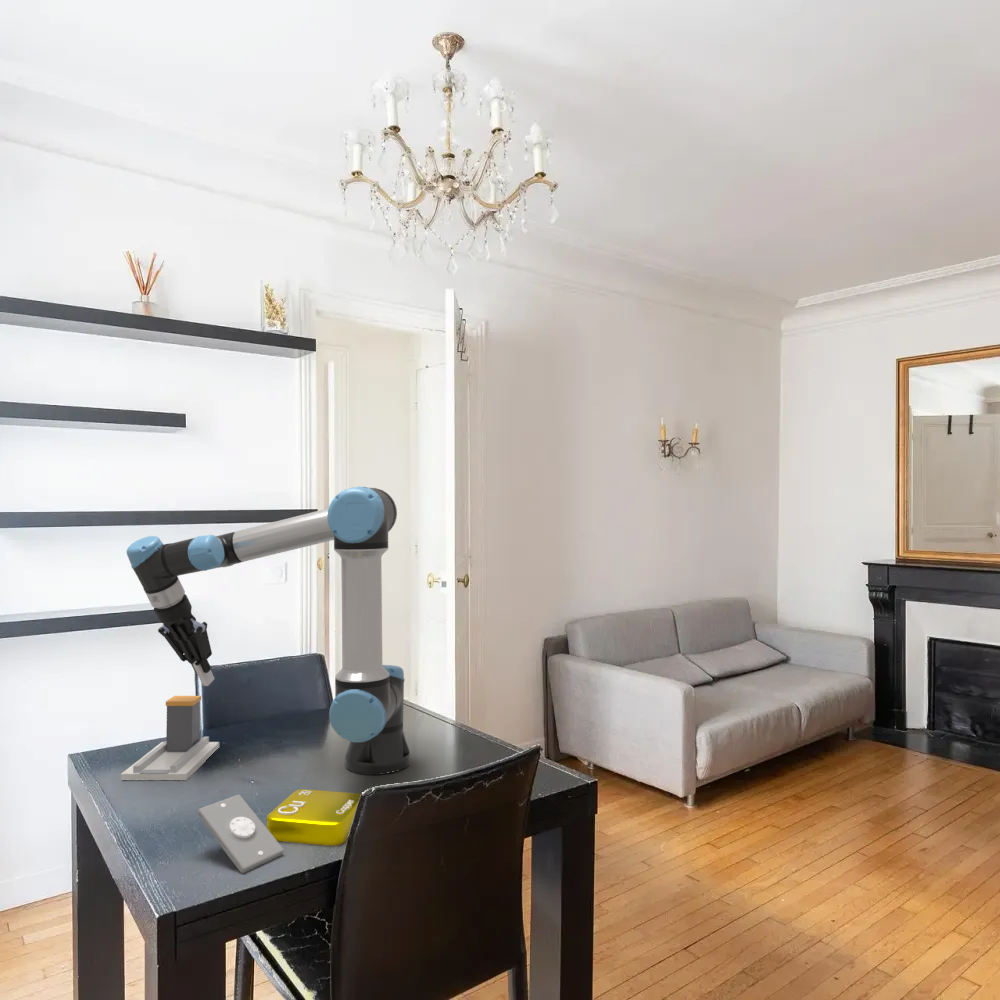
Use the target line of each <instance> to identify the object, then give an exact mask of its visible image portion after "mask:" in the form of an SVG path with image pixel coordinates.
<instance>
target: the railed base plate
mask: <svg viewBox="0 0 1000 1000" xmlns="http://www.w3.org/2000/svg"><path fill="white" fill-rule="evenodd" d="M218 748H219V749H220V741H210V736H203V737H202V738H200V739H199V741H198V742H197V743H196V744H195V745H194V746H193V747H192V748H190V749H189V750H188V751H166V740H165V741H161V742H160V743H159V744H158V745H156V746H155V747H154V748H152V749H150V751H148V752H147V753H146V754H144V755H143V756H141V758H140V759H138V760H137V761H136V762H134V763H133V764H132V765H130V766H129V767H128V768H126V769H125V770H124V771H123V772H121V773H120V781H121V780H125V779H129V780H130V779H131V780H136V779H137V780H141V779H144V780H181V781H180V782H183V781H182V780H186V781H187V780H189V778H190V777H191V776H193V774H194V773H196V772H197V770H199V768H200V767H201V766H202V765H203V764H204V763H205V762H207V761H208V760H207V759H208V758H209V757H210V756H211V755H212V754H213V753H214V752H215V751H216V750H217V749H218ZM219 749H218V750H219ZM218 750H217V751H218ZM217 751H216V752H217ZM216 752H215V753H216ZM215 753H214V754H215ZM212 756H213V755H212ZM212 756H211V757H212ZM209 759H210V758H209ZM206 760H207V761H206Z"/></svg>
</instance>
